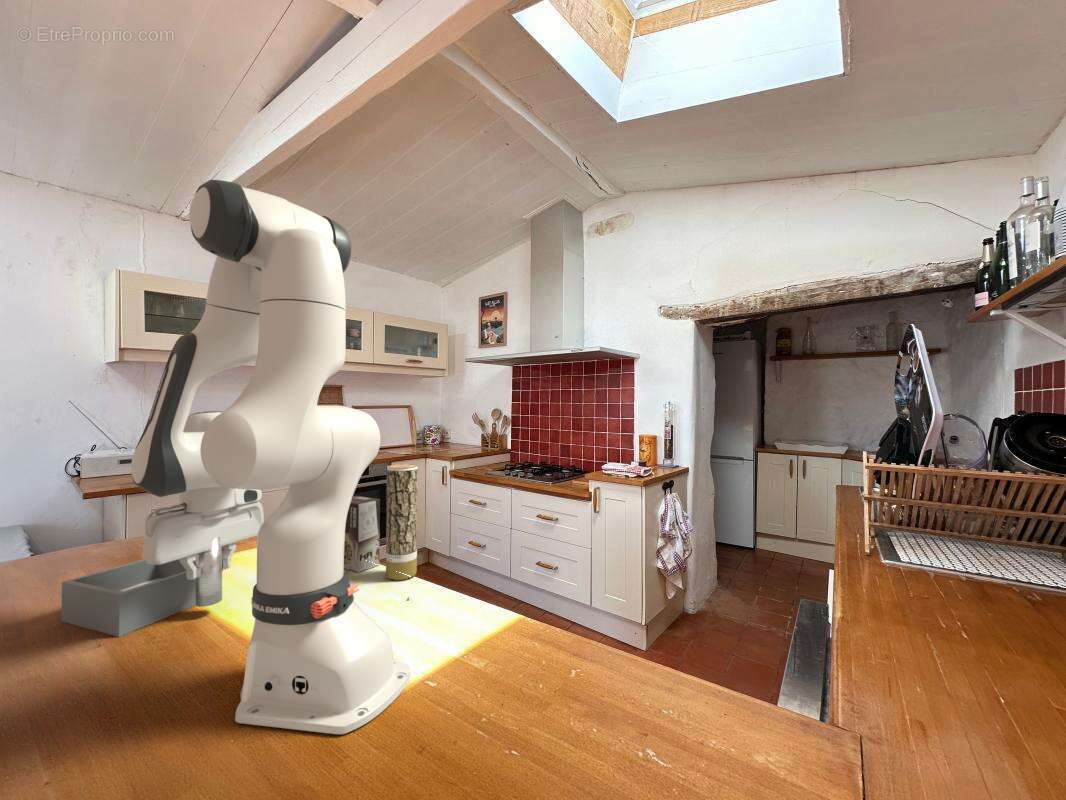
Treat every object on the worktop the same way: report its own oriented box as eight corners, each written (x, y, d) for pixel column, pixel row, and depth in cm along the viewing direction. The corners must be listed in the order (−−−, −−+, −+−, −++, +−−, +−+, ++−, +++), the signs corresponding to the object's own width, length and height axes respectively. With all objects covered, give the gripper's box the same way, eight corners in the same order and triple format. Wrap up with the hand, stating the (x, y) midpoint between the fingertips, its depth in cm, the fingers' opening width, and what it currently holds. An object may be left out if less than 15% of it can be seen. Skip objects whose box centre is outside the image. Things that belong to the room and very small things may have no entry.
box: (214, 598, 91) (214, 563, 91) (119, 636, 76) (119, 594, 76) (160, 587, 96) (160, 554, 96) (61, 621, 81) (61, 582, 81)
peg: (227, 598, 85) (227, 534, 85) (205, 607, 81) (205, 540, 82) (212, 596, 87) (212, 533, 87) (190, 605, 83) (190, 539, 83)
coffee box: (380, 565, 110) (381, 498, 110) (357, 573, 105) (358, 503, 105) (356, 558, 115) (357, 494, 115) (333, 565, 109) (334, 499, 110)
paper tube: (408, 582, 99) (409, 468, 100) (379, 580, 101) (381, 467, 101) (421, 571, 106) (422, 465, 106) (395, 569, 107) (396, 464, 108)
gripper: (158, 511, 74) (158, 597, 73) (269, 489, 93) (269, 557, 93) (133, 509, 76) (133, 592, 75) (246, 488, 95) (246, 554, 95)
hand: (209, 573), depth 84 cm, fingers closed on peg, 4 cm apart
